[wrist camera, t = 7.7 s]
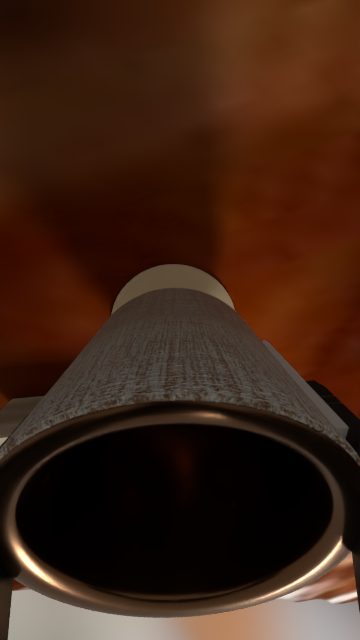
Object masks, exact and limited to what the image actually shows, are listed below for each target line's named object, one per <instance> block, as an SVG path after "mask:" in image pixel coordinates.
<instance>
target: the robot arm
mask: <svg viewBox="0 0 360 640" xmlns="http://www.w3.org/2000/svg"><path fill="white" fill-rule="evenodd" d="M262 342H263V344H264V345H265V346H266V347H267V348H268V350H269V351H270V352H271V353H272V354H273V356H274V357H275V358H276V359H277V360H278V361H279V363H280V364H281V365H282V366H283V367H284V369H285V370H286V371H287V372H288V373H289V375H290V376H291V377H292V378H293V379H294V380H295V382H296V383H297V384H298V385H299V386H300V387H301V389H302V390H303V391H304V392H305V393H306V394H307V395H308V397H309V398H310V399H311V400H312V401H313V402H314V404H315V405H316V406H317V407H318V408H319V409H320V411H321V412H322V413H323V414H324V415H325V416H326V417H327V419H328V420H329V421H330V422H331V423H332V424H333V426H334V427H335V428H336V429H337V430H338V431H339V432H340V434H341V435H342V436H343V437H344V438H345V439H346V441H347V442H348V443H349V444H350V445H351V446H352V448H353V449H354V450H355V452H356V453H357V454H358V456H359V457H360V420H359V419H358V418H357V417H356V416H355V415H354V414H353V413H352V412H351V411H350V410H349V409H348V408H347V407H346V406H345V405H344V404H342V403H341V402H340V401H339V400H338V399H337V398H336V397H335V396H333V394H332V393H331V392H330V391H329V390H328V389H327V388H326V387H324V386H323V385H321V384H319V383H317V382H316V381H314V380H313V381H304V379H303V378H302V377H301V376H300V375H299V374H298V373H297V372H296V371H295V370H294V369H293V368H292V367H291V366H290V365H289V364H288V363H287V362H286V360H285V359H284V358H283V357H282V356H281V355H280V354H279V353H278V352H277V351H276V350H275V349H274V348H273V347H272V346H271V345H270V344H269V342H268V341H267V340H265V341H262ZM29 414H30V413H29ZM29 414H28V415H29ZM28 415H27V416H28ZM27 416H26V417H27ZM26 417H25V418H26ZM25 418H24V419H23V420H22V422H23V421H24V420H25ZM22 422H21V423H22ZM21 423H20V424H21ZM20 424H19V425H20ZM19 425H18V427H19ZM18 427H16V429H17V428H18ZM16 429H15V430H16ZM15 430H14V431H15ZM14 431H13V432H12V434H13V433H14ZM12 434H11V435H12ZM11 435H10V436H11ZM10 436H9V437H10ZM9 437H8V438H9ZM8 438H7V439H6V440H5V441H4V443H5V442H6V441H7V440H8ZM4 443H3V444H4ZM3 444H2V445H1V446H0V448H1V447H2V446H3ZM352 557H353V565H354V573H355V580H356V588H357V596H358V604H359V611H360V537H359V539H358V541H357V543H356V545H355V547H354V548H353V550H352ZM12 585H13V578H12V577H11V576H9V575H8V574H7V573H6V572H5V571H3V570H2V569H1V568H0V640H7V639H8V629H9V617H10V607H11V595H12Z"/></svg>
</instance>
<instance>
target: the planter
mask: <svg viewBox="0 0 360 640" xmlns="http://www.w3.org/2000/svg"><path fill="white" fill-rule="evenodd" d="M359 537H360V457H359V456H358V454H357V453H356V452H355V450H354V449H353V448H352V446H351V445H350V444H349V443H348V442H347V441H346V439H345V438H344V437H343V436H342V435H341V434H340V432H339V431H338V430H337V429H336V428H335V427H334V426H333V424H332V423H331V422H330V421H329V420H328V419H327V417H326V416H325V415H324V414H323V413H322V412H321V411H320V409H319V408H318V407H317V406H316V405H315V404H314V402H313V401H312V400H311V399H310V398H309V397H308V395H307V394H306V393H305V392H304V391H303V390H302V389H301V387H300V386H299V385H298V384H297V383H296V382H295V380H294V379H293V378H292V377H291V376H290V375H289V373H288V372H287V371H286V370H285V369H284V367H283V366H282V365H281V364H280V363H279V361H278V360H277V359H276V358H275V357H274V356H273V354H272V353H271V352H270V351H269V350H268V348H267V347H266V346H265V345H264V344H263V342H262V341H261V340H260V339H259V337H258V336H257V335H256V334H255V333H254V332H253V330H252V329H251V328H250V327H249V326H248V324H247V323H246V322H245V321H244V320H243V319H242V317H241V316H240V315H239V314H238V313H237V312H236V311H235V310H234V309H233V308H232V307H230V306H229V305H228V304H226V303H225V302H223V301H222V300H220V299H218V298H216V297H214V296H212V295H210V294H208V293H205V292H202V291H198V290H194V289H189V288H163V289H157V290H153V291H150V292H147V293H144V294H141V295H139V296H137V297H135V298H133V299H131V300H130V301H128V302H126V303H125V304H124V305H122V306H121V307H120V308H118V309H117V310H116V311H115V312H114V313H113V314H112V315H111V316H110V317H109V319H108V320H107V321H106V322H105V323H104V325H103V326H102V327H101V328H100V329H99V331H98V332H97V333H96V334H95V335H94V337H93V338H92V339H91V340H90V342H89V343H88V344H87V345H86V346H85V348H84V349H83V350H82V351H81V353H80V354H79V355H78V356H77V358H76V359H75V360H74V361H73V362H72V364H71V365H70V366H69V367H68V368H67V370H66V371H65V372H64V373H63V374H62V376H61V377H60V378H59V379H58V381H57V382H56V383H55V384H54V385H53V386H52V388H51V389H50V390H49V391H48V392H47V394H46V395H45V396H44V397H43V398H42V400H41V401H40V402H39V403H38V404H37V405H36V407H35V408H34V409H33V410H32V411H31V413H30V414H29V415H28V416H27V417H26V418H25V420H24V421H23V422H22V423H21V424H20V425H19V427H18V428H17V429H16V430H15V431H14V433H13V434H12V435H11V436H10V437H9V438H8V440H7V441H6V442H5V443H4V444H3V446H2V447H1V448H0V568H1V569H2V570H3V571H5V572H6V573H7V574H8V575H9V576H11V577H12V578H14V579H15V580H17V581H18V582H20V583H21V584H23V585H25V586H26V587H28V588H30V589H32V590H34V591H36V592H38V593H41V594H42V595H45V596H47V597H49V598H52V599H55V600H57V601H60V602H63V603H66V604H69V605H73V606H76V607H80V608H84V609H88V610H92V611H98V612H103V613H109V614H116V615H124V616H134V617H154V618H158V617H159V618H160V617H162V618H169V617H190V616H201V615H209V614H217V613H223V612H228V611H234V610H238V609H243V608H247V607H250V606H254V605H258V604H261V603H265V602H267V601H271V600H274V599H276V598H279V597H282V596H284V595H287V594H289V593H292V592H294V591H296V590H298V589H300V588H302V587H304V586H306V585H308V584H310V583H312V582H313V581H315V580H317V579H318V578H320V577H322V576H323V575H325V574H326V573H328V572H329V571H330V570H332V569H333V568H334V567H336V566H337V565H338V564H339V563H340V562H341V561H343V560H344V559H345V558H346V557H347V556H348V555H349V554H350V552H351V551H352V550H353V548H354V547H355V545H356V543H357V541H358V539H359Z"/></svg>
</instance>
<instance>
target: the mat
mask: <svg viewBox="0 0 360 640" xmlns="http://www.w3.org/2000/svg"><path fill="white" fill-rule="evenodd" d="M163 288H189V289H194V290H198V291H202V292H205V293H208V294H210V295H212V296H214V297H216V298H218V299H220V300H222V301H223V302H225V303H226V304H228V305H229V306H230V307H232V308H233V309H234V306H233V303H232V300H231V298H230V297H229V295H228V293H227V292H226V290H225V289H224V287H223V286H222V285H221V284H220V283H219V282H218V281H217V280H216V279H214V278H213V277H212V276H210V275H209V274H207V273H206V272H204V271H202V270H200V269H197V268H195V267H191V266H187V265H181V264H166V265H160V266H156V267H153V268H150V269H147V270H145V271H143V272H141V273H140V274H138V275H137V276H135V277H134V278H133V279H131V280H130V281H129V282H128V283H127V284H126V285H125V286H124V288H123V289H122V290H121V292H120V293H119V295H118V296H117V298H116V301H115V303H114V306H113V309H112V314H113V313H114V312H115V311H116V310H117V309H118V308H120V307H121V306H122V305H124V304H125V303H126V302H128V301H130V300H131V299H133V298H135V297H137V296H139V295H141V294H144V293H147V292H150V291H153V290H157V289H163ZM234 310H235V309H234Z"/></svg>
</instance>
